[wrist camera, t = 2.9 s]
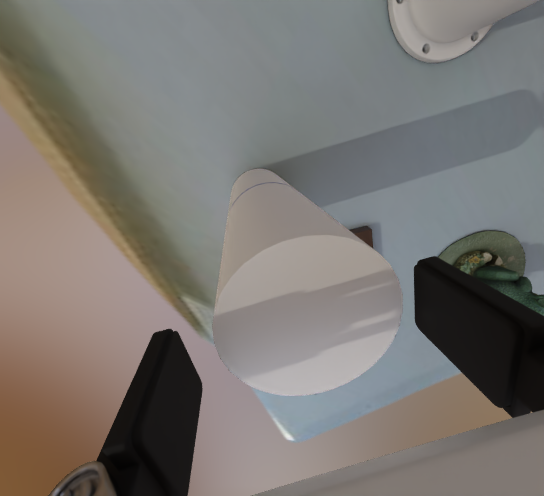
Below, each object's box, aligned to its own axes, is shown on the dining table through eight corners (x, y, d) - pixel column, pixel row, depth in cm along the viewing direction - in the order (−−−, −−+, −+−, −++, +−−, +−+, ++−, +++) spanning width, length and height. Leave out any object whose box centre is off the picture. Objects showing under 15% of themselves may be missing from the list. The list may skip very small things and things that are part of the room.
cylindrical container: (298, 192, 33) (439, 303, 10) (264, 235, 34) (317, 417, 11) (254, 155, 31) (302, 188, 8) (219, 203, 32) (172, 350, 9)
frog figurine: (499, 326, 46) (577, 380, 36) (406, 329, 44) (460, 388, 33) (543, 231, 40) (655, 263, 29) (437, 229, 37) (517, 263, 27)
